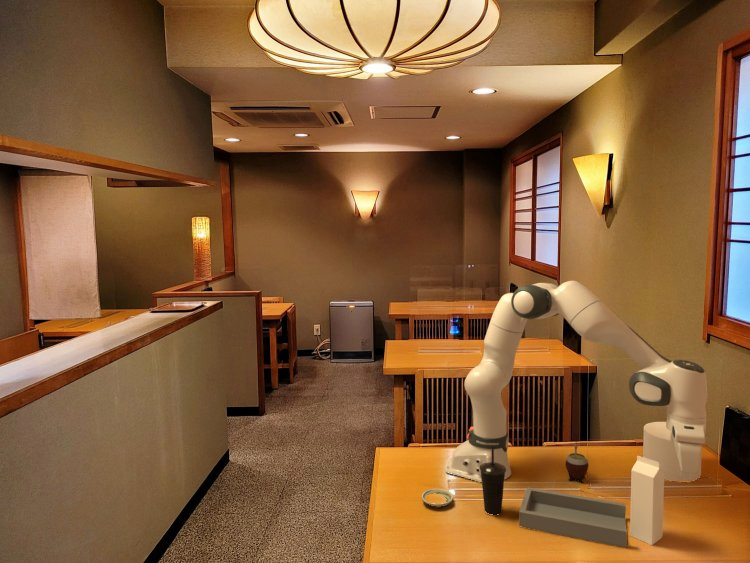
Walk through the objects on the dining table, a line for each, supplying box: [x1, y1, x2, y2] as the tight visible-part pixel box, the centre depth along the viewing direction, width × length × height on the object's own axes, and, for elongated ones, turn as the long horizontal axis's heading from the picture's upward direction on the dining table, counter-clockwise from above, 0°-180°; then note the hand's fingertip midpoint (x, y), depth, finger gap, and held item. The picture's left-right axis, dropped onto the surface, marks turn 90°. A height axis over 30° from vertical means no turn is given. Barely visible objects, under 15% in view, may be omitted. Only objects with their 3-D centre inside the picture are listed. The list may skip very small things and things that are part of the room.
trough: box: [518, 486, 628, 549], centre depth 152 cm, size 28×15×4 cm, turn 66°
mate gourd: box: [565, 442, 589, 485], centre depth 176 cm, size 8×8×15 cm
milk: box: [629, 455, 665, 546], centre depth 143 cm, size 6×6×22 cm
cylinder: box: [642, 421, 703, 482], centre depth 180 cm, size 17×17×28 cm
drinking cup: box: [480, 447, 506, 516], centre depth 158 cm, size 8×8×20 cm
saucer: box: [421, 488, 454, 508], centre depth 165 cm, size 10×10×2 cm
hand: (684, 474), depth 139 cm, fingers closed
